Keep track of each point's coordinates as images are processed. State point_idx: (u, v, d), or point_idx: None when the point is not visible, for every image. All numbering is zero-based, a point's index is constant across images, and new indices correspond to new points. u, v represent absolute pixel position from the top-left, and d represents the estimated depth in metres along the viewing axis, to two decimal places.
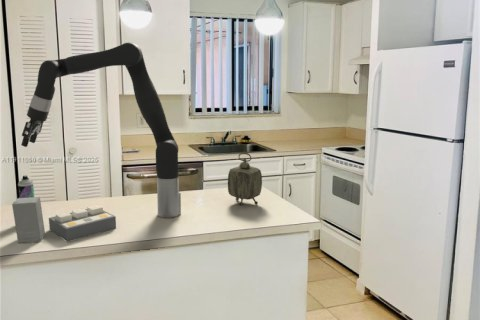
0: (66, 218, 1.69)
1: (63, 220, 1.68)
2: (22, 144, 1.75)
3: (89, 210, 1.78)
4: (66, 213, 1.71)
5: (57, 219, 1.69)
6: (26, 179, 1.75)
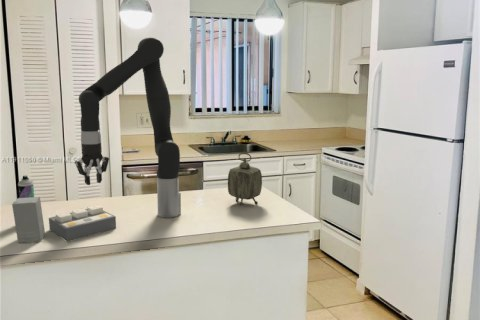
0: (66, 218, 1.69)
1: (63, 220, 1.68)
2: None
3: (89, 210, 1.78)
4: (66, 213, 1.71)
5: (57, 219, 1.69)
6: (26, 179, 1.75)
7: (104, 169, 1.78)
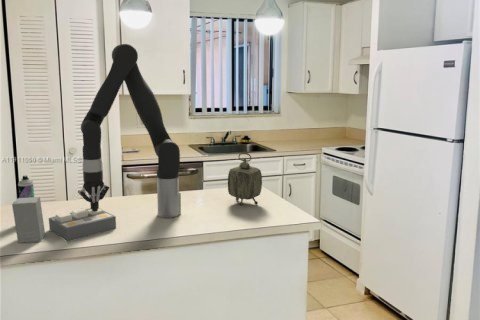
0: (66, 218, 1.69)
1: (63, 220, 1.68)
2: None
3: (89, 213, 1.78)
4: (66, 213, 1.71)
5: (57, 219, 1.69)
6: (26, 179, 1.75)
7: (101, 197, 1.79)
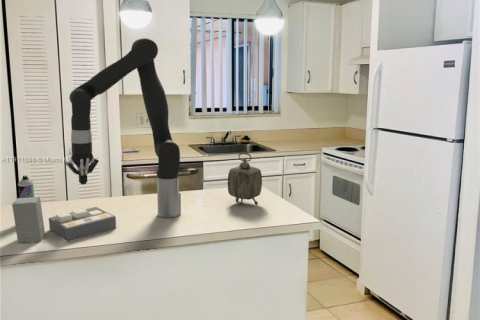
0: (66, 218, 1.69)
1: (63, 220, 1.68)
2: (79, 182, 1.73)
3: None
4: (66, 213, 1.71)
5: (57, 219, 1.69)
6: (26, 179, 1.75)
7: (90, 170, 1.74)
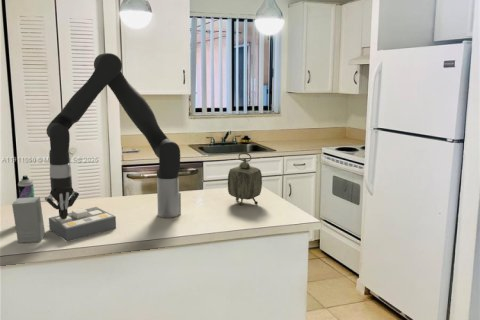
0: (66, 221, 1.69)
1: None
2: (59, 216, 1.70)
3: None
4: None
5: None
6: (26, 179, 1.75)
7: (70, 204, 1.70)
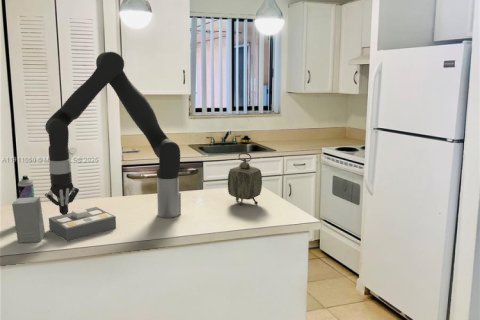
0: None
1: None
2: (60, 212, 1.69)
3: None
4: (66, 218, 1.72)
5: None
6: (26, 179, 1.75)
7: (71, 200, 1.70)
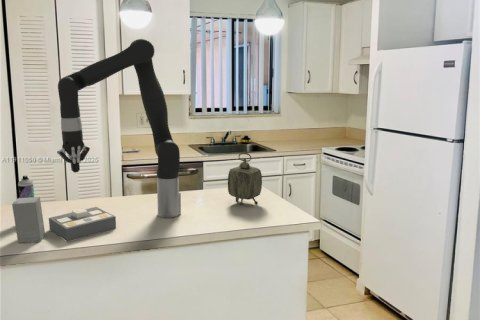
0: None
1: None
2: (72, 170, 1.74)
3: None
4: (66, 218, 1.72)
5: None
6: (26, 179, 1.75)
7: (82, 158, 1.75)
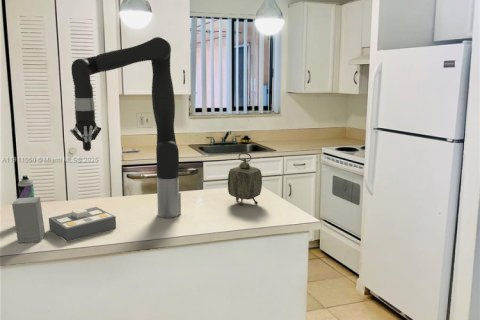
0: None
1: None
2: None
3: None
4: (66, 218, 1.72)
5: None
6: (26, 179, 1.75)
7: (93, 137, 1.82)
